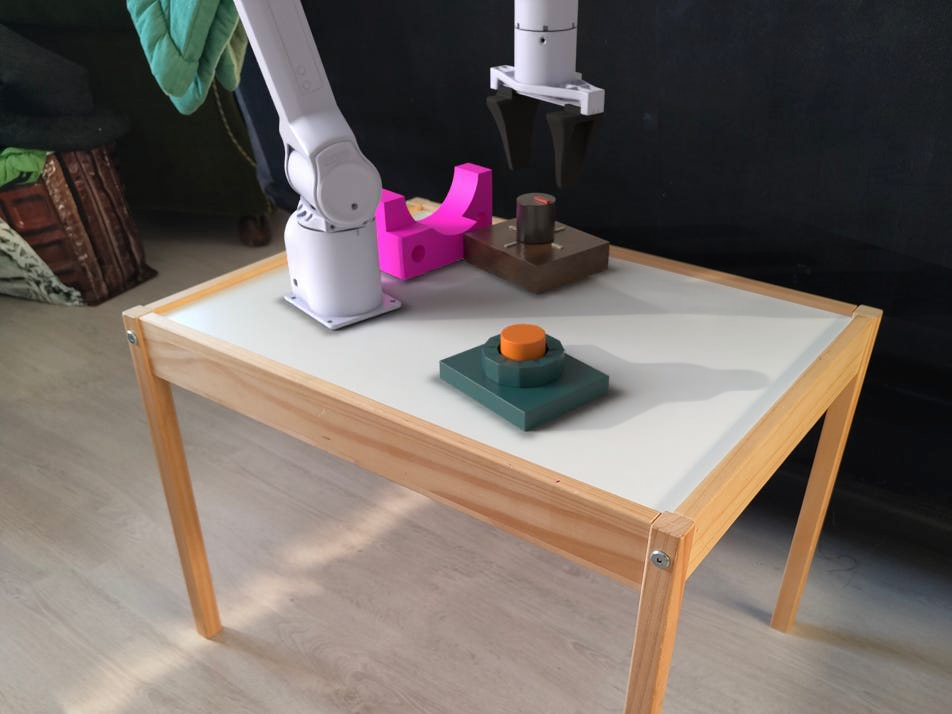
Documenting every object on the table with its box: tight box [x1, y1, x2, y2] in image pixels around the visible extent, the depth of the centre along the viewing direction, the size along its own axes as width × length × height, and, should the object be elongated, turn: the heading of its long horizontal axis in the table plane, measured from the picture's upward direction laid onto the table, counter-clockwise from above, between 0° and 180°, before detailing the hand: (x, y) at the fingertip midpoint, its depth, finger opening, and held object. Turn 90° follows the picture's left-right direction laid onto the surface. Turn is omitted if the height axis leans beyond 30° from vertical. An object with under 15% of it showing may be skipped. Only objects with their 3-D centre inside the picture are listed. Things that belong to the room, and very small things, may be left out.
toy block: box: [375, 162, 493, 281], centre depth 96 cm, size 15×6×8 cm, turn 133°
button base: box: [439, 333, 610, 432], centre depth 73 cm, size 11×9×4 cm
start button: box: [500, 323, 547, 361], centre depth 72 cm, size 4×4×2 cm
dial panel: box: [463, 217, 611, 295], centre depth 95 cm, size 12×10×3 cm
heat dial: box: [515, 192, 557, 244], centre depth 92 cm, size 4×4×4 cm
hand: (542, 176), depth 90 cm, fingers open, 7 cm apart
